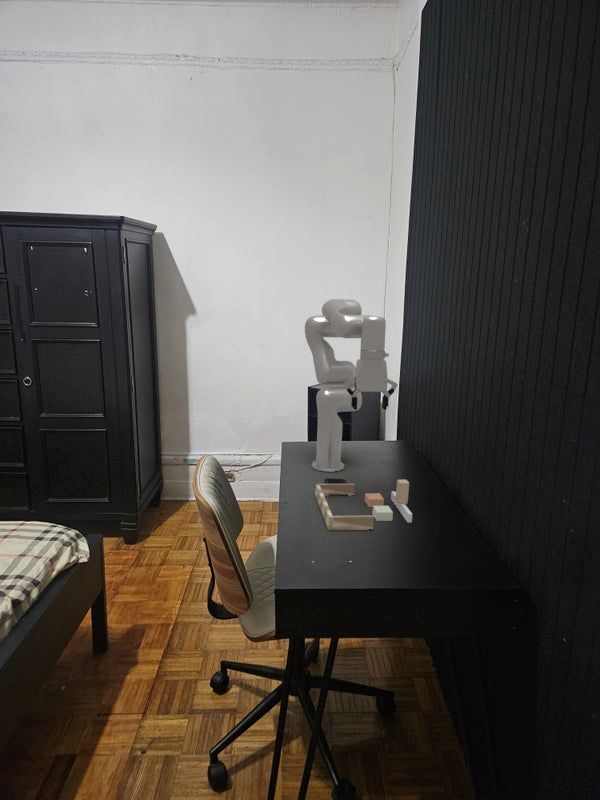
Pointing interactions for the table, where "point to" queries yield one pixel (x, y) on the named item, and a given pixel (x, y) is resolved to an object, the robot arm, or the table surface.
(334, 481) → the phone
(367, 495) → the terracotta tile
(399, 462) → the table surface
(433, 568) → the table surface
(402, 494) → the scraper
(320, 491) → the box
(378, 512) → the pale green square block
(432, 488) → the table surface
